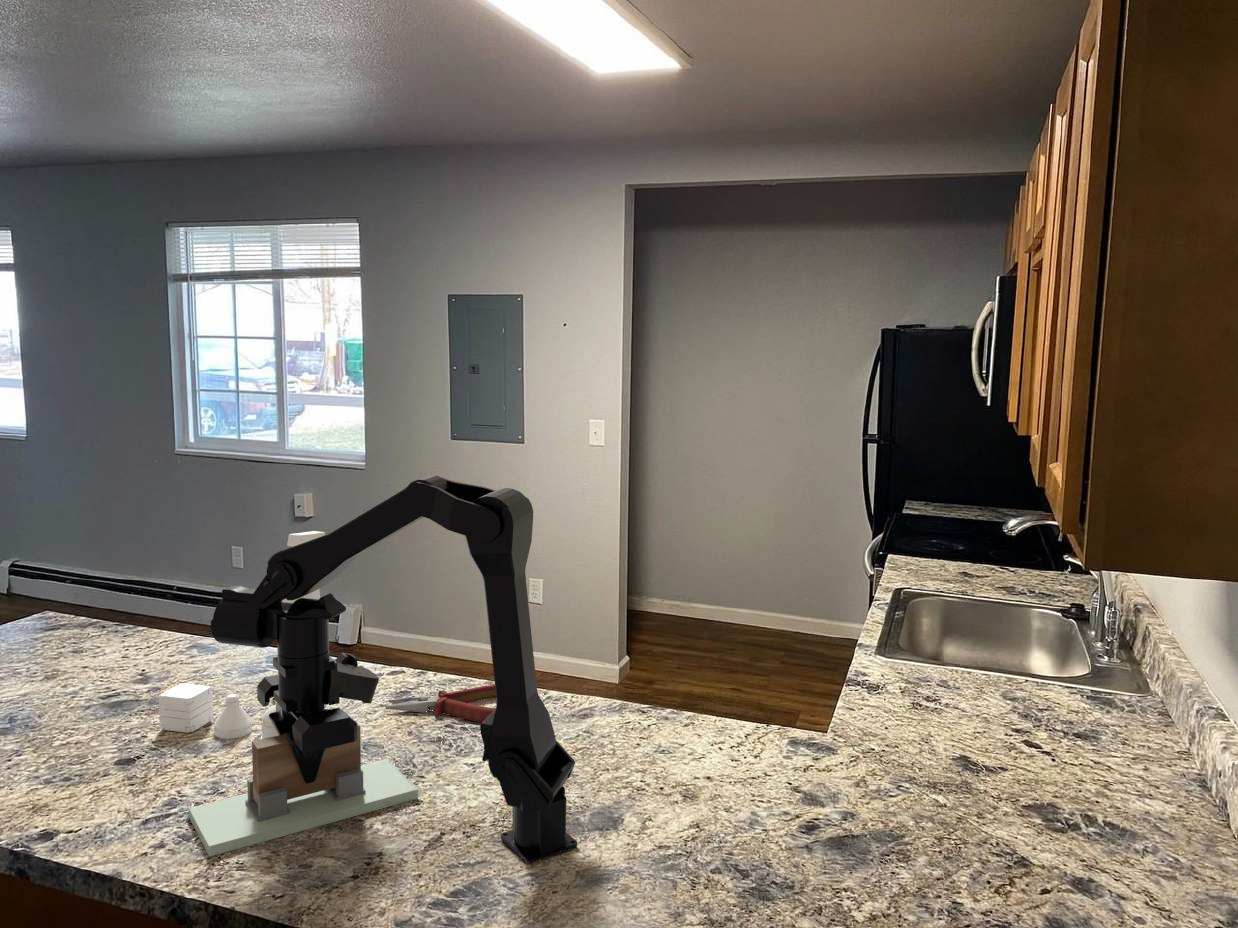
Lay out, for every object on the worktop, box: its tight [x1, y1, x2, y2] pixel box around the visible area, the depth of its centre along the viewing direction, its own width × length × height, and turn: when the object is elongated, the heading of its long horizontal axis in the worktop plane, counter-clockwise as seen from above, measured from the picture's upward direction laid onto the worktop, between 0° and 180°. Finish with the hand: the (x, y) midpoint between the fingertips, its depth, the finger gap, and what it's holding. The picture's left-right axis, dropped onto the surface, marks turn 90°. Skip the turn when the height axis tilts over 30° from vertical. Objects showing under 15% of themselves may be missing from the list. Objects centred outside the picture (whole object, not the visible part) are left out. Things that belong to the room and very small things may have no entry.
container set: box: [158, 683, 278, 740], centre depth 134 cm, size 20×5×6 cm, turn 78°
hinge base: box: [188, 758, 419, 858], centre depth 113 cm, size 10×24×4 cm, turn 126°
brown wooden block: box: [251, 719, 362, 805], centre depth 113 cm, size 2×12×7 cm, turn 126°
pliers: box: [385, 684, 496, 723], centre depth 144 cm, size 12×20×3 cm, turn 94°
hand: (306, 777), depth 113 cm, fingers closed on brown wooden block, 2 cm apart
